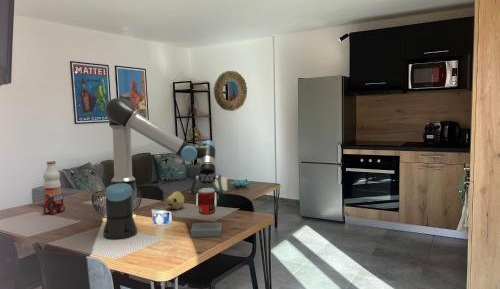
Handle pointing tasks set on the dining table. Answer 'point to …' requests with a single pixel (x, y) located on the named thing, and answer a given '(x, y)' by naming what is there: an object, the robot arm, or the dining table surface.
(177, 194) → the tan rounded lump
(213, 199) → the canned food
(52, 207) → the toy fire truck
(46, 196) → the fruit juice
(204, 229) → the grey flat block
